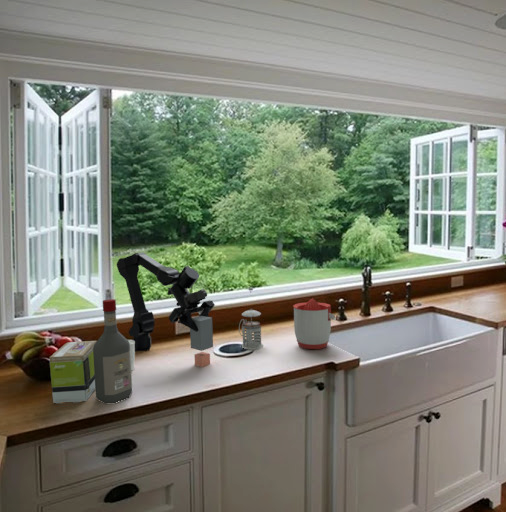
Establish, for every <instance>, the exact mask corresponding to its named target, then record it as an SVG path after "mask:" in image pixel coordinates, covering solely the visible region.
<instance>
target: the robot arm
mask: <svg viewBox="0 0 506 512" xmlns="http://www.w3.org/2000/svg"><path fill="white" fill-rule="evenodd" d="M140 266H141V267H143V268H144V269H146V271H148V272H150V273H152V274H153V275H154V276H155V277H156V280H157V281H158V282H159V283H160V284H161V285H162V286H165V287H167V286H171V287H168V290H167V295H168V296H171V295H172V296H173V298H174V299H175V301H176V305H175V306H177V307H175V308H173V310H172V311H171V312H170V314H169V315H168V320H169V321H170V323H171V324H174V323H178V324H181V325H184V326H185V327H188V328H189V329H190V328H191V329H192V330H194V331H196V332H198V328H197V326H196V324H195V322H194V321H193V319H192V318H193V317H192V314H195V313H198V314H199V315H198V316H205V317H210V316H209V315H210V314H209V313H210V312H212V311H211V310H213V308H214V307H215V306H216V305H215V303H214V301H213V300H206V298H207V297H208V294H207V293H208V292H207V291H206V290H205V289H204V288H202V289H198V291H194V292H190V291H189V290H188V289H191V288H192V287H193V286H194V284H195V283H196V282H197V281H198V279H199V278H200V274H199V272H198V271H197V270H195V269H194V268H191V267H190V266H189V265H185V266H184V267H183V268H182V270H181V272H179V270H178V269H175V268H174V267H169V266H164V265H163V264H161V263H160V262H158V261H156V260H155V259H154V258H152V257H150V256H149V255H147V253H146V252H141V251H140V252H134V253H133V254H132V255H131V254H130V255H128V256H126V257H121V258H119V259H118V260H117V262H116V267H117V270H118V274H119V275H120V276H121V277H122V278H123V279H124V280H125V284H126V287H127V291H128V295H129V299H130V302H131V306H132V308H133V312H134V313H133V316H132V319H131V320H132V326H131V327H130V328H129V330H128V335H129V337H133V339H132V340H133V341H135V352H144V351H150V349H151V347H152V336H151V335H150V334H153V332H154V329H155V328H154V327H155V326H156V323H155V322H156V319H155V318H154V317H155V316H154V313H153V312H152V311H149V310H148V309H147V307H146V303H145V301H144V300H145V299H144V296H143V293H142V289H141V286H140V281H139V278H138V275H139V270H140ZM203 300H206V301H203ZM201 301H203V302H202V303H201Z"/></svg>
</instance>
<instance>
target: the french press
mask: <svg viewBox="0 0 506 512" xmlns="http://www.w3.org/2000/svg"><path fill="white" fill-rule="evenodd" d="M247 290H248V291H249V292H252V291H253V290H254V288H253V287H250V286H249V288H248V289H247ZM261 315H262V313H261V312H260V311H257V310H254V309H248V310H245V311H244V312H242V313H241V316H242V317H245V319H244V318H242V319H240V322H239V325H238V331H239V332H238V333H239V334H240V336H242V344H241V345H242V348H241V349H243V348H244V350H249V349H254V350H259V349H262V348H264V346H265V345H264V344H263V343H262V326H261V323H260V322H259V321H252V320H253V319H252V318H257V317H260V316H261ZM247 318H250V321H249V320H248V321H247ZM241 322H242V324H241ZM240 325H241V329H240ZM240 330H241V331H240ZM241 333H242V334H241Z"/></svg>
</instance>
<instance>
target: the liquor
mask: <svg viewBox="0 0 506 512" xmlns="http://www.w3.org/2000/svg"><path fill="white" fill-rule="evenodd" d="M102 311H103V324H104V329H103V333H102V335H101V334H100V335H101V336H99V338H98V340H96V341H97V342H96V343H95V344H94V347H93V356H94V373H95V390H94V391H95V397H96V399H97V400H98V401H99V400H100V401H99V402H101V401H102V403H103V402H104V403H103V404H105V403H115V404H117V403H116V402H118V401H120V402H122V401H121V400H123V401H125V400H127V399H126V398H128V399H129V398H130V397H131V395H132V393H133V384H132V383H133V379H132V371H131V358H130V343H129V341H128V340H129V339H127V338H126V336H124V335H123V334H122V333H121V332H120V331H119V328H118V326H117V314H116V312H117V300H116V299H112V298H111V299H110V298H109V299H104V300H102ZM124 399H125V400H124ZM118 403H119V402H118Z"/></svg>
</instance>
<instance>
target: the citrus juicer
mask: <svg viewBox="0 0 506 512" xmlns="http://www.w3.org/2000/svg"><path fill="white" fill-rule="evenodd" d="M292 307H293V327H294V334H295V339H296V342H297V344H298V346H299V347H300V348H301V349H308V350H322V349H325V348H326V347H327V346H328V343H329V342H330V341H329V339H330V336H331V330H332V329H331V328H332V323H331V322H332V321H333V320H334V321H336V319H337V318H336V315H335V314H333V313H332V307H331V304H328V303H326V302H317V300H315V299H314V298H310V299H309V300H308V301H307V302H306V301H305V302H298V303H295V304H293V306H292Z"/></svg>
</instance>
